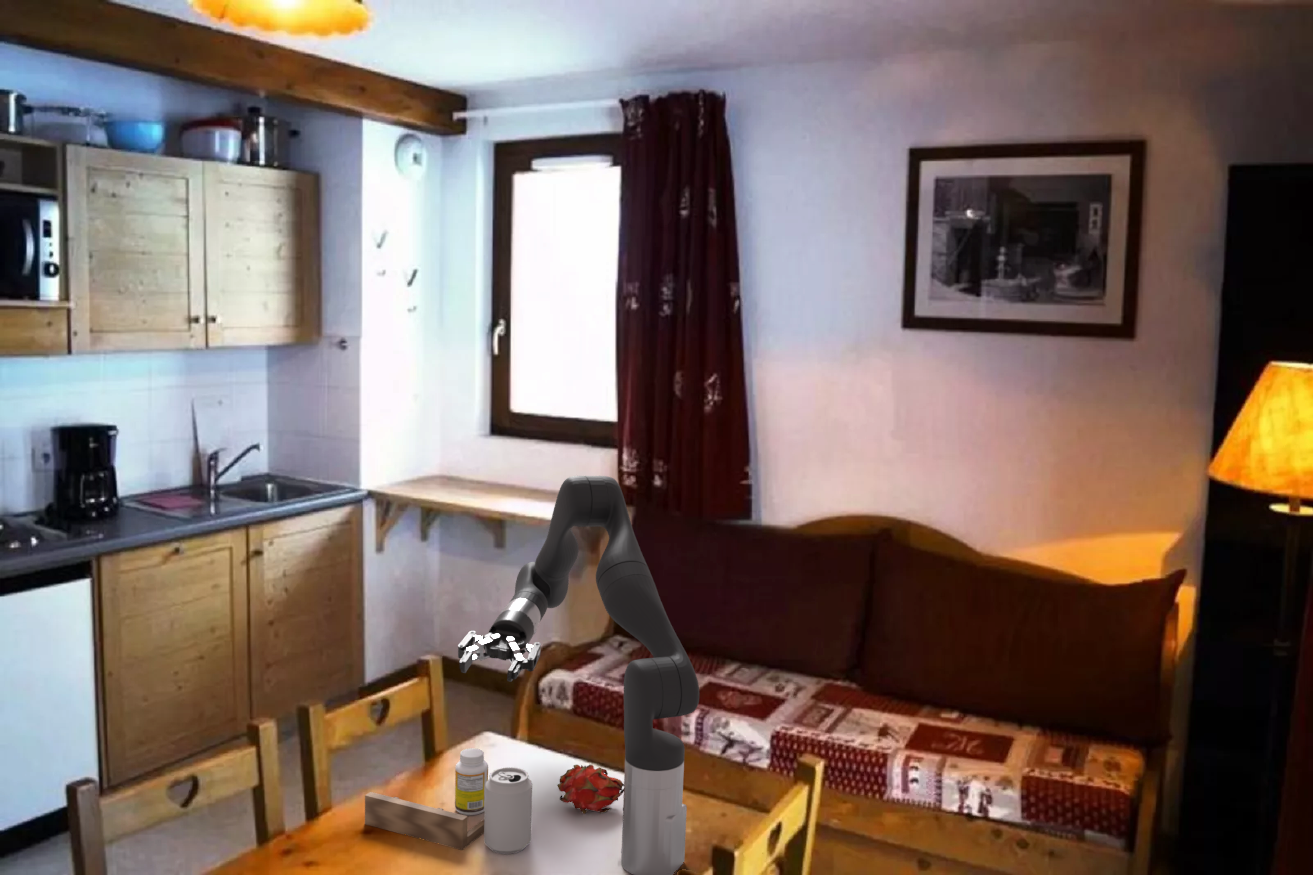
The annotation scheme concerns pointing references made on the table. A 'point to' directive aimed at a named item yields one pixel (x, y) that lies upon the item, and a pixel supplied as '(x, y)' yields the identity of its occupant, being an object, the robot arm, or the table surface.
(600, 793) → the dragon fruit
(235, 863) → the table surface
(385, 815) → the l-shaped bracket
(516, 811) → the can
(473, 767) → the supplement bottle
